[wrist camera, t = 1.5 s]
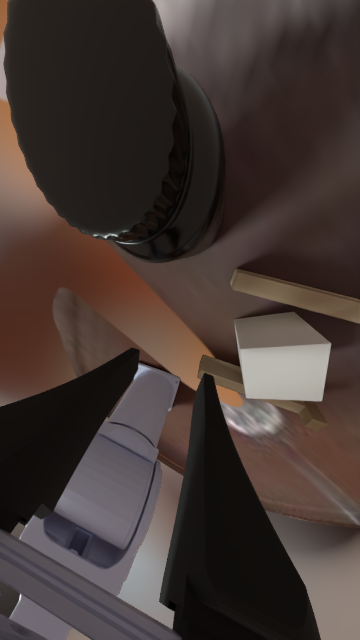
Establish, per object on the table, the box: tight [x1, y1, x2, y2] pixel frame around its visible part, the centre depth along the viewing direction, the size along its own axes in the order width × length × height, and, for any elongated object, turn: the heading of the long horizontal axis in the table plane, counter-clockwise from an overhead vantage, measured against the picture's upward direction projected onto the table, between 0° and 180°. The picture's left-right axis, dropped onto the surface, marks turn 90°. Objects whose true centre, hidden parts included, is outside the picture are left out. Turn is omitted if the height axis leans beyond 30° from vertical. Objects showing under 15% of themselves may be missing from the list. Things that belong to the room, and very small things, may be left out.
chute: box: [198, 268, 360, 431], centre depth 15 cm, size 14×14×4 cm
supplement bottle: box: [4, 0, 225, 263], centre depth 9 cm, size 7×7×12 cm
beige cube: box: [234, 312, 331, 401], centre depth 15 cm, size 6×6×6 cm
